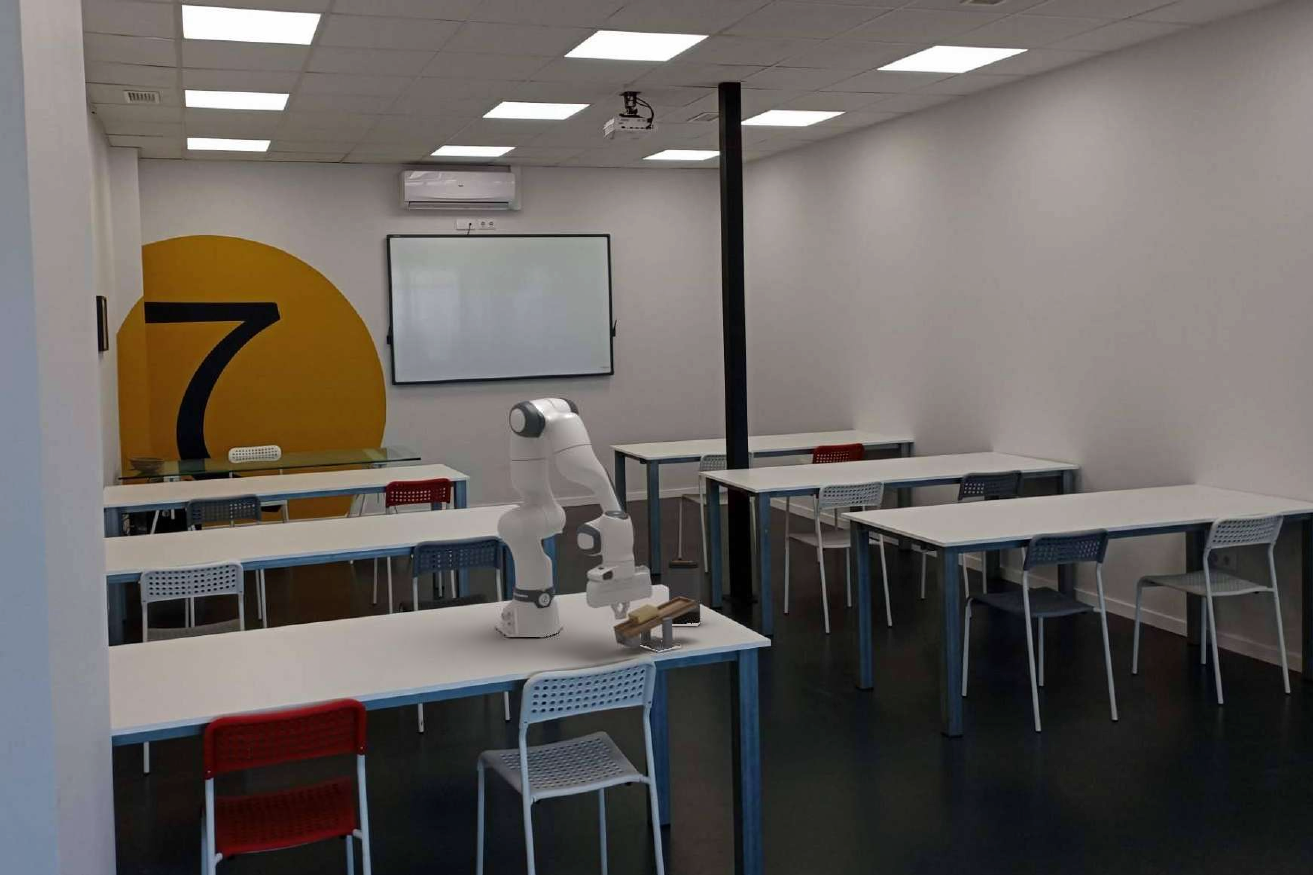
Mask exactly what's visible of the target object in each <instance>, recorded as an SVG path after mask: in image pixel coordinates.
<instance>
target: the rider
mask: <svg viewBox="0 0 1313 875" xmlns="http://www.w3.org/2000/svg"><path fill="white" fill-rule="evenodd" d="M658 617H659V613H658V608H657V606H653V605H650V604H646V605H643V606H641V607H638V608H637V609H634V610H632V611H629V612H627V618H628V620H629V622H630V625H632V626H635V627H639V626H641V625H643V624H645V623H647V622H649V621H651V620H653V619H656V618H658Z"/></svg>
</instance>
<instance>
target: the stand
mask: <svg viewBox="0 0 1313 875" xmlns="http://www.w3.org/2000/svg"><path fill="white" fill-rule="evenodd" d="M661 626H662V628H661V633H662V636H661V637H660V636H658V635H657V636H656V635H651V634H652V633H651V632H652V629H650V630H648V631H646V632H644V633H642V634H640V639H641V644H642V645H643V646H647V647H649V648H651V649H655V650H658V651H660V650H664V649H669V648H672V647H674V646H680V645H682V644H681V643H678V644H677V642H674V640H673V634H674V633H673V627H672V618H670V617H667V618H662V624H661ZM661 640H662V641H661Z"/></svg>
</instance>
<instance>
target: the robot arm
mask: <svg viewBox="0 0 1313 875" xmlns="http://www.w3.org/2000/svg"><path fill="white" fill-rule="evenodd" d="M508 422H509V426H510V428H511V433H510V441H509V442H510V443H509V460H510V461H509V463H510V478H511V479H510V480H511V481H510V482H511V486H512V488H514V490H516V491H517V492H518V493H519V495H520V497H521V500H522V503H523V504H522V506H517V507H514V508H511V509H510V510H507V511H506V512H505V513H503V514H501V516H500V517H499V518H498V522H497V525H496V526H497V527H496V528H497V533H498V536H499V537H500V539H501V540H502V541H503V542H504V543H506V545H507V546H508V548H509V550H510V552H511V555H512V558H513V563H514V574H515V576H514V577H515V586H513V587H512V589H513V590H512V592H513V594H512V599H511V600H510V602H509V603H507V605H506V606H504V608H503V609H502V612H501V614H500V615H501V620H502V621H501V622H498V623H495V624H494V628H495V629H496V628H497V629H498V631H499V632H500V631H501V632H502V635H504V634H505V635H506V636H505V635H504V636H505V637H507V638H508V637H540V638H545V637H546V636H547V637H551V636H553V635H552V634H555V635H557V634H558V631H559V630H560V631H561V629H560V628H562V629H563V628H564V624H563V623H561V621H560V611H559V604H558V601H556V600H555V597H556V595H555V592H556V591H555V585H554V583H553V582H554V581H553V562H552V559H551V558H550V556H548V555H547V554H546V553H545V550H544V548H543V545H542V540H544V539H548V538H551V537H553V536H555V535H557V534H558V533H559V532H561V531H562V530H563V529H564V528H565V526H566V523H567V522H566V521H567V518H566V512H565V510H564V508H563V507H562V506H561V504H558V502H557V501H556V499H555V496H554V494H553V491H552V489H551V486H550V485H551V484H550V479H549V468H548V466H549V465H548V452H547V443H548V442H547V441H548V440H549V442H550V445H551V448H552V452H553V456H554V460H555V464H556V467H557V469H558V471H559V474H560V475H562V477H564V478H565V479H567V480H569V481H571V482H573V483H577V484H580V485H583V486H585V487H587V488H589V489H591V491H593V492H594V494H595V495H596V497H597V500H598V503H599V505H600V507H601V510H602V512H603V513H602V514H601V516H599V517H598V518H596V519H594V520H591V521H588V522H585V523H582V524H580V525H579V527H578V528H577V529H576V530H577V531H576V534H575V542H576V546H577V548H578V550H579V551H580V552H581V553H582V555H584V556H590V557H591V556H593V557H595V556H600V555H601V556H602V563H600V564H598V565H596V566H595V567H593V568H592V569H589V570H588V571H587V574H586V575H587V578H588V581H587V583H586V587H585V588H586V593H585V599H586V600H585V601H586V604H587V606H588V607H590V608H593V609H598V608H605V607H608V606H610V608H611V610H612V611H613V613H614V619H615V620H618V621H619V620H622V619H623V620H624V619H627V618H628V612H629V609H630V607H631V602H635V601H639V600H644V599H645V600H646V599H650V598H651V597H652V595H653V586H652V580H651V570H650V568H649V566H646V565H639V566H635V556H634V552H633V550H634V541H635V536H636V535H635V534H636V531H635V528H634V525H633V523H632V519H631V516H630V514H629V513H627V512H626V511H625V509H624V507H623V504H622V501H621V499H620V497H619V495H618V492H617V489H616V486H615V484H614V482H613V480H612V477H611V475H610V473H609V471H608V470H607V469H606V467H605V466H603V465H602V464H601V463H600V461H599V460H598V458H597V457H596V454H595V453H594V450H593V447H592V443H591V439H590V436H589V434H588V430H587V429H586V427H585V424H584V422H583V420H582V419H581V416H580V415H579V410H578V407H577V404H576V403H575V402H574V401H572V400H571V399H568V398H564V397H558V398H555V397H554V398H553V397H552V398H551V397H550V398H549V397H546V398H539V399H533V400H525V401H520V402H518V403H516V404H515V405H514V406H512V407H511V409H510V412H509V420H508ZM620 604H621V606H622V608H621V611H620V610H619V608H620ZM497 629H496V630H497ZM560 631H559V632H560ZM501 632H500V633H501ZM556 633H557V634H556ZM550 635H551V636H550Z"/></svg>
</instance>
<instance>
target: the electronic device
mask: <svg viewBox="0 0 1313 875" xmlns="http://www.w3.org/2000/svg"><path fill="white" fill-rule="evenodd" d="M667 566H668V567H667V568H668V601H670V600H672V599H674V598H676V597H678V596H680V597H684V598H687V599H691V600H695V601H696V604H697V608H695V609H693V610H690V611H688V612H686V613H684V614H682V615H680V616H678V617H676V618H674V619H672V624H687V623H691V624H692V623H699V622H700V623H701V588H700V587H701V584H700V583H701V580H700V560H699V559H698V558H691V560H678V559H677V558H671V559H669V561H668V565H667Z"/></svg>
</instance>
